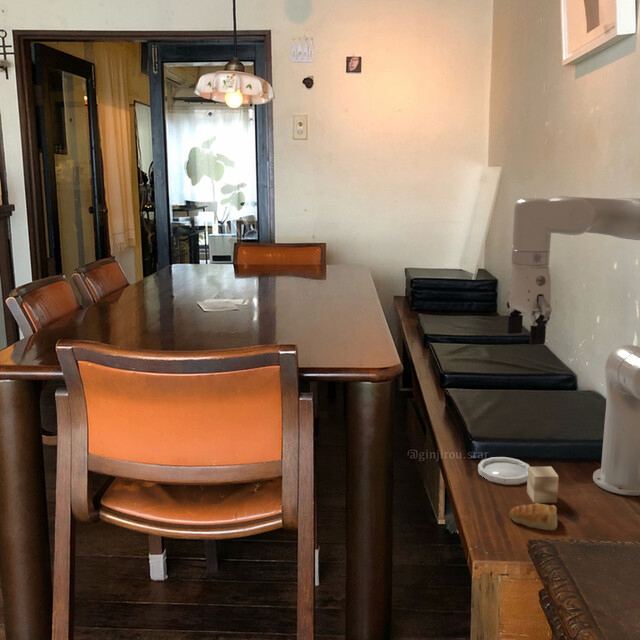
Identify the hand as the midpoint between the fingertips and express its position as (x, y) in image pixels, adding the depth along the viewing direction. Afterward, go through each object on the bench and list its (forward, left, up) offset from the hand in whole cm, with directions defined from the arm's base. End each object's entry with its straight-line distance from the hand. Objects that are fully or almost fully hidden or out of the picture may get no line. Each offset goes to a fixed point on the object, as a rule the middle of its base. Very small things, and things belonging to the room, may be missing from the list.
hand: (525, 338), depth 147 cm
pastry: (0, +16, -35) cm, 38 cm away
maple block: (-4, +5, -34) cm, 35 cm away
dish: (+1, -7, -34) cm, 35 cm away
